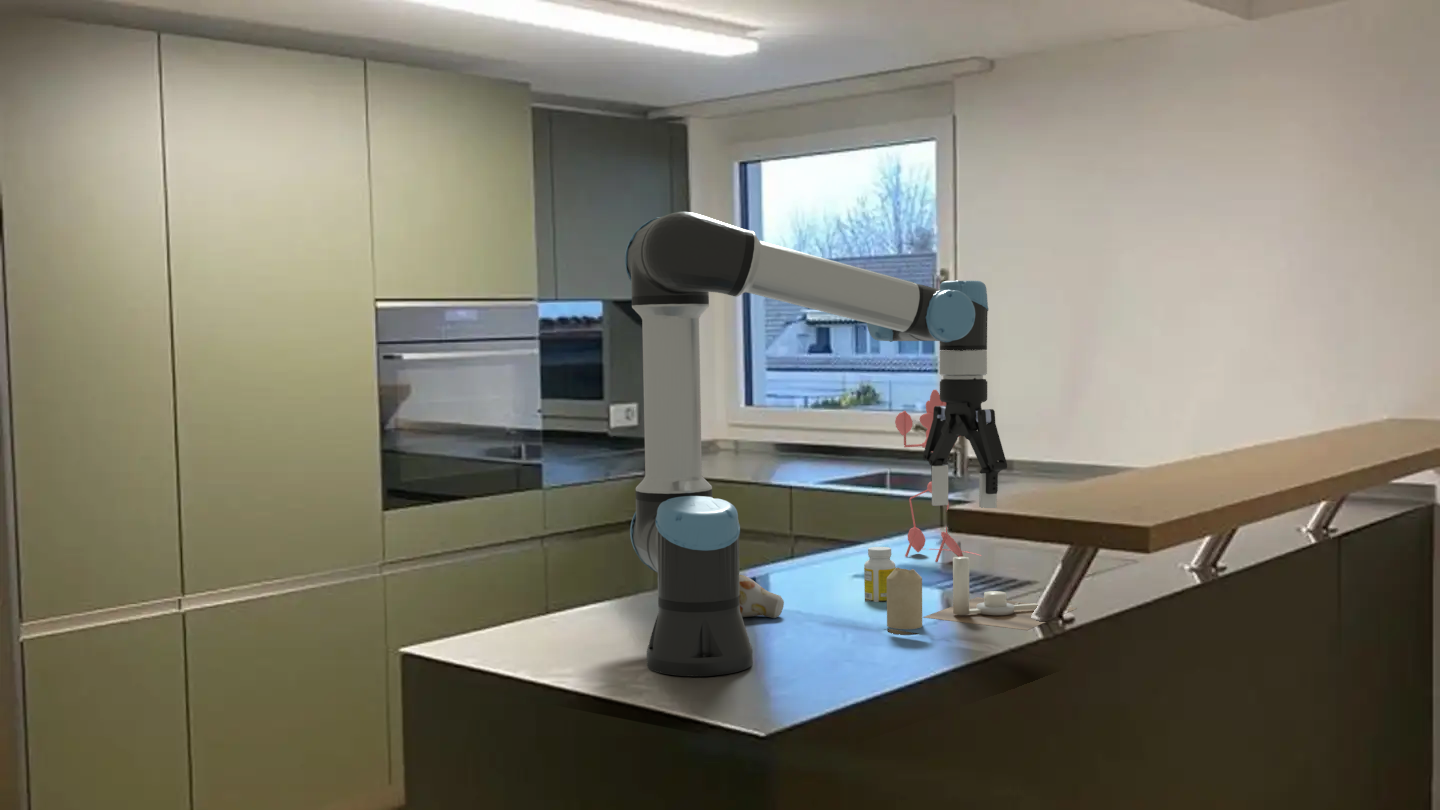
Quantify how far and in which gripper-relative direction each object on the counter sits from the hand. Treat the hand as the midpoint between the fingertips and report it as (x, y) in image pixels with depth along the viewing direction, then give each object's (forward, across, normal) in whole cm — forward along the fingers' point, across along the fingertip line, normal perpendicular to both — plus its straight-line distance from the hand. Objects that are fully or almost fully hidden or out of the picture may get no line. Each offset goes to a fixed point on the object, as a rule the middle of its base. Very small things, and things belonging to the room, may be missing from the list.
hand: (963, 509), depth 224 cm
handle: (+17, 0, -6) cm, 18 cm away
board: (+18, 0, -7) cm, 20 cm away
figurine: (+18, +58, -34) cm, 69 cm away
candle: (+19, -1, +12) cm, 22 cm away
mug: (+19, +21, +28) cm, 39 cm away
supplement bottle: (+19, +20, +4) cm, 27 cm away
